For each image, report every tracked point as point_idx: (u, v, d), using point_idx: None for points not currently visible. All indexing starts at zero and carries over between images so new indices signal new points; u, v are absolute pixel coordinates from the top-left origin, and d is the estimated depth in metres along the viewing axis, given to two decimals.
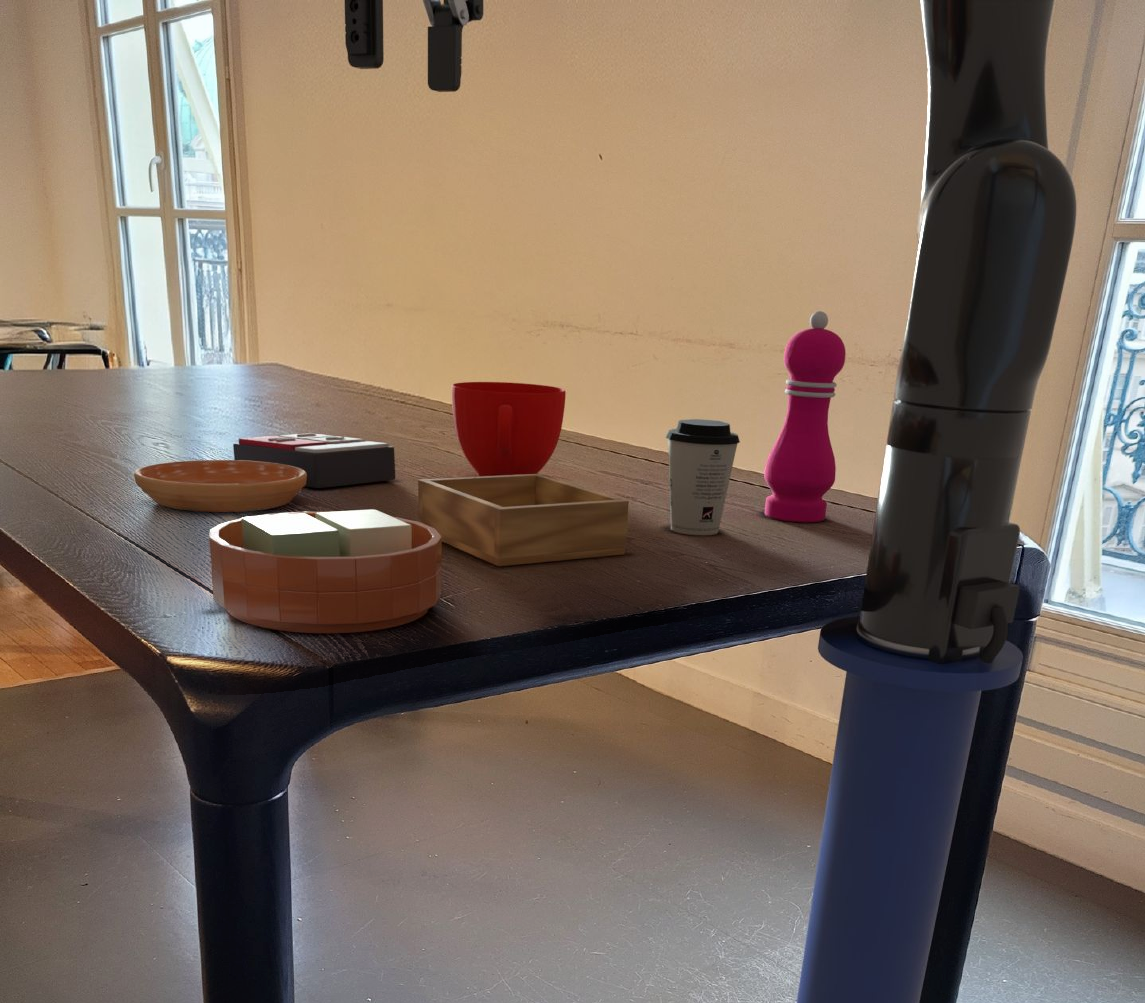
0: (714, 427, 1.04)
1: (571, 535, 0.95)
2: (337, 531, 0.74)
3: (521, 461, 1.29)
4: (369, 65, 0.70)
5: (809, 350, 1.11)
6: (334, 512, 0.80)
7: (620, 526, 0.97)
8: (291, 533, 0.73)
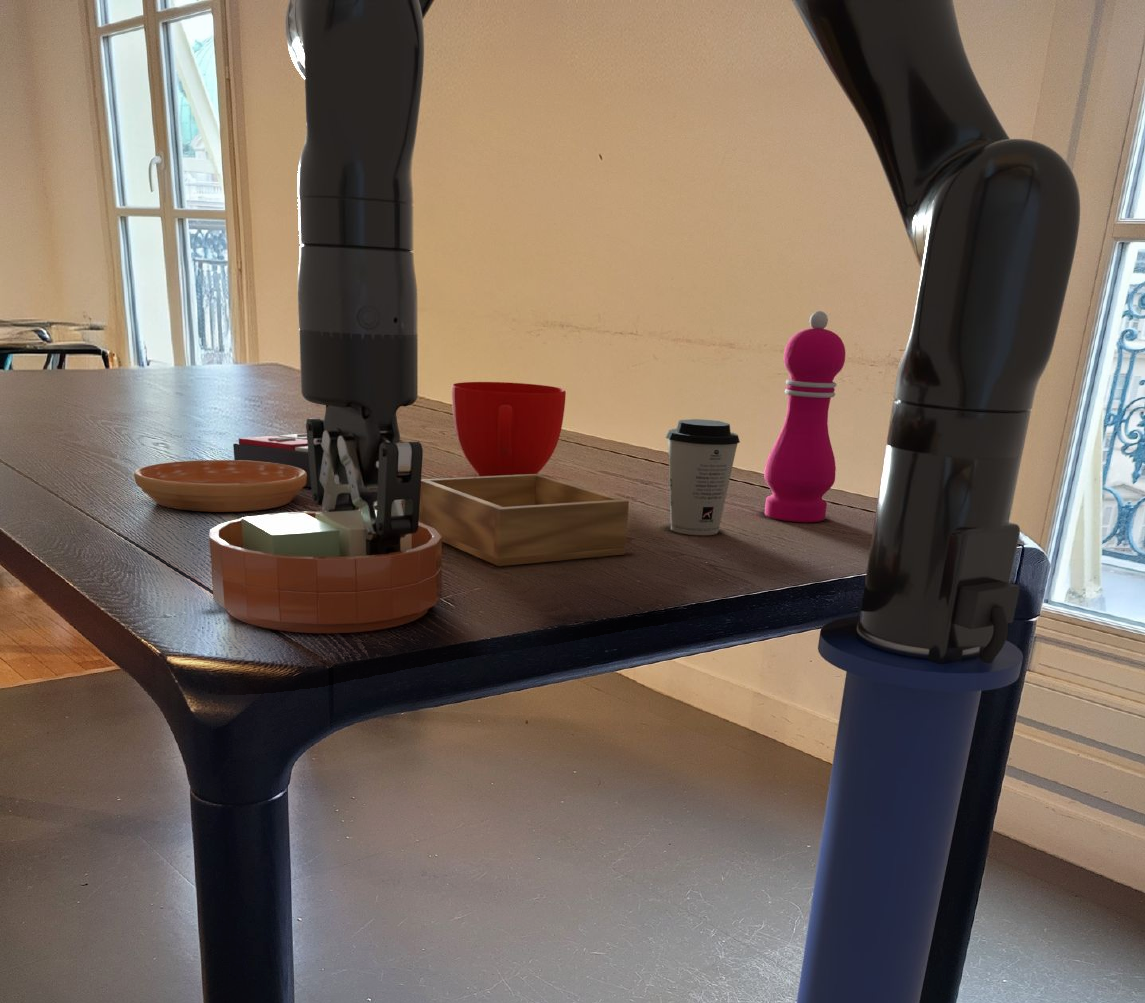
0: (714, 427, 1.04)
1: (571, 535, 0.95)
2: (337, 531, 0.74)
3: (521, 461, 1.29)
4: None
5: (808, 350, 1.11)
6: (334, 512, 0.80)
7: (620, 526, 0.97)
8: (291, 533, 0.73)
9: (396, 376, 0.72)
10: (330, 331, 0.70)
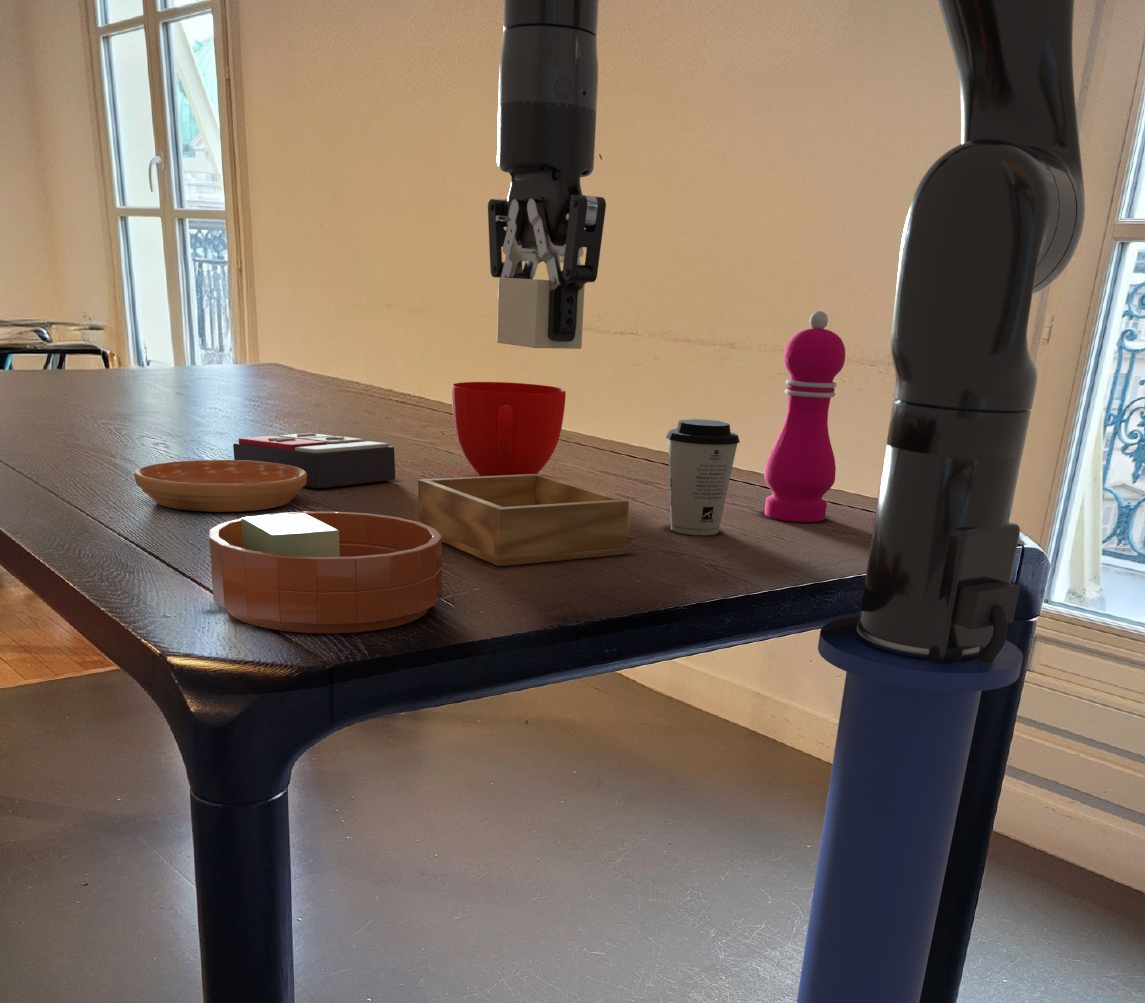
0: (714, 427, 1.04)
1: (571, 535, 0.95)
2: (337, 531, 0.74)
3: (521, 461, 1.29)
4: (569, 340, 0.91)
5: (808, 350, 1.11)
6: None
7: (620, 526, 0.97)
8: (291, 533, 0.73)
9: (582, 143, 0.86)
10: (531, 100, 0.84)
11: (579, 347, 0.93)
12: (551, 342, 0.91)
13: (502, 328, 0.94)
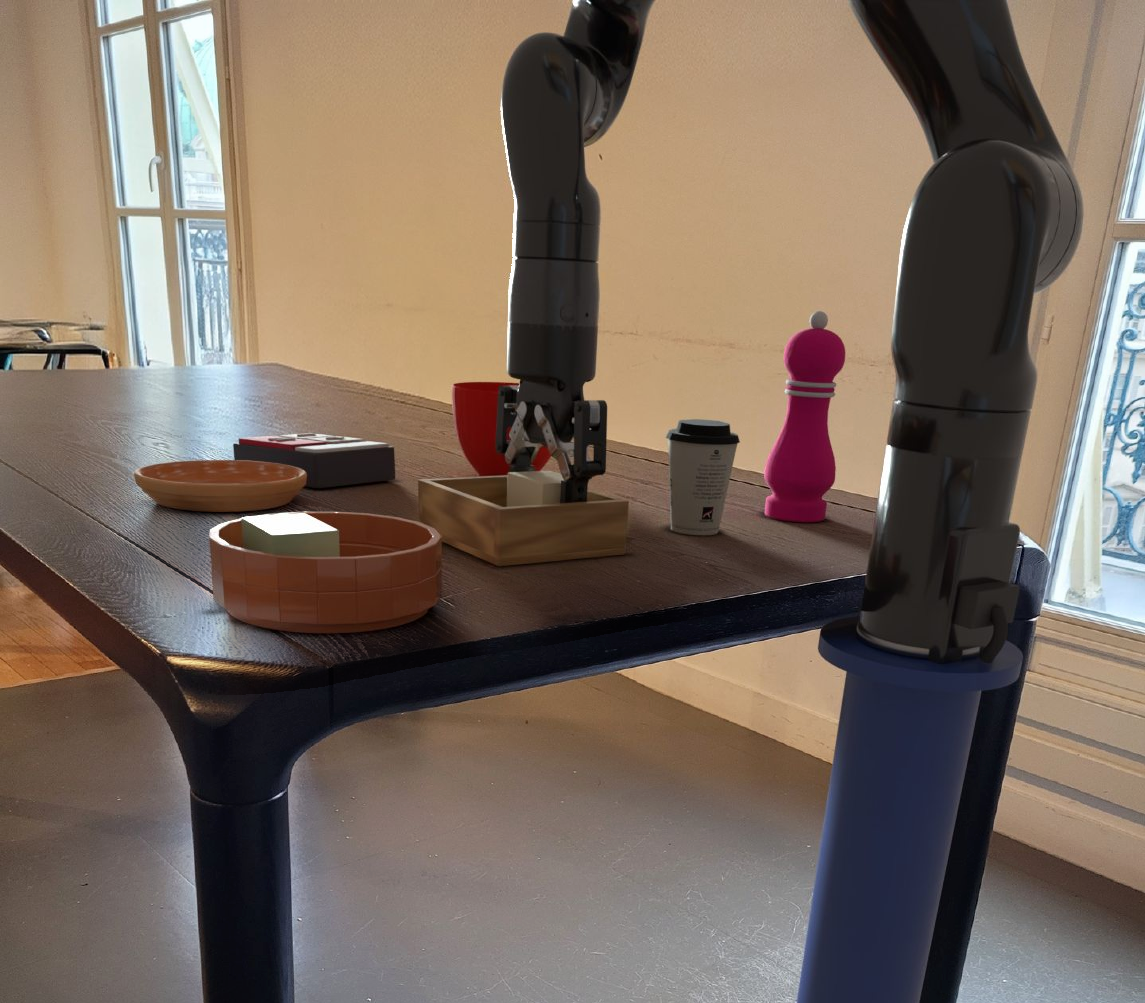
0: (714, 427, 1.04)
1: (571, 535, 0.95)
2: (337, 531, 0.74)
3: None
4: None
5: (808, 350, 1.11)
6: (521, 472, 1.02)
7: (620, 526, 0.97)
8: (291, 533, 0.73)
9: (585, 358, 0.94)
10: (538, 323, 0.92)
11: None
12: None
13: None
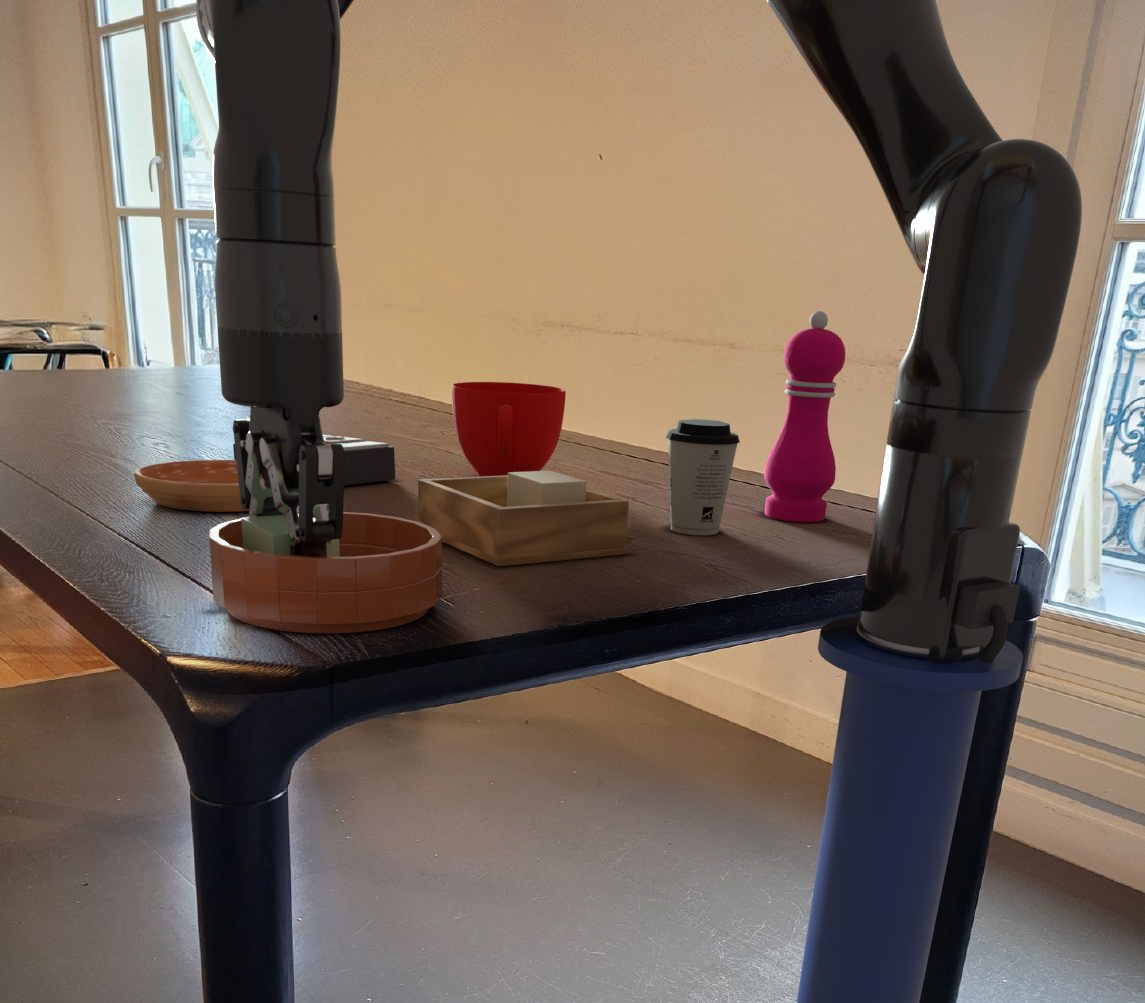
0: (714, 427, 1.04)
1: (571, 535, 0.95)
2: None
3: (521, 461, 1.29)
4: None
5: (808, 350, 1.11)
6: (521, 472, 1.02)
7: (620, 526, 0.97)
8: None
9: (318, 376, 0.70)
10: (247, 329, 0.68)
11: None
12: None
13: None
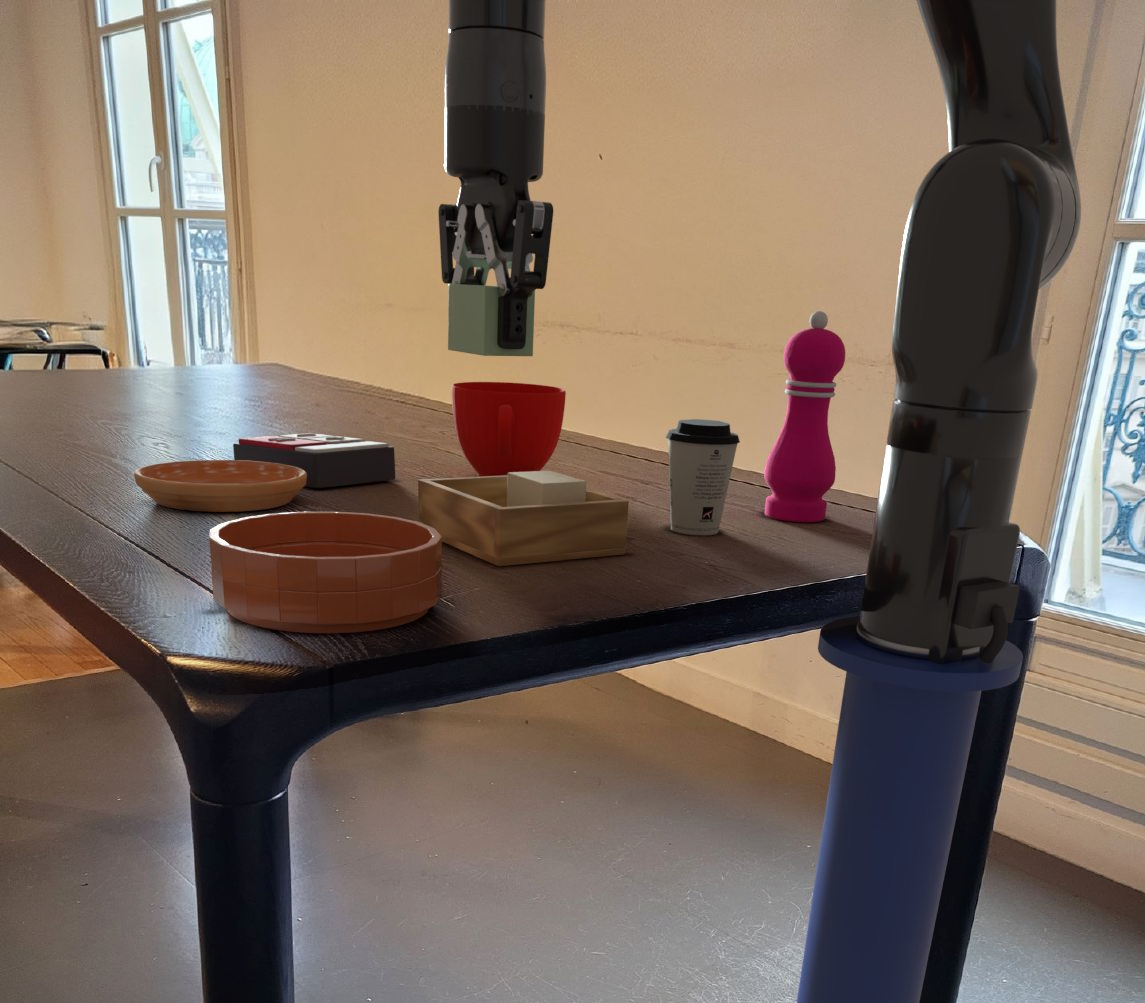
0: (714, 427, 1.04)
1: (571, 535, 0.95)
2: None
3: (521, 461, 1.29)
4: (519, 348, 0.90)
5: (808, 350, 1.11)
6: (521, 472, 1.02)
7: (620, 526, 0.97)
8: None
9: (529, 148, 0.85)
10: (476, 104, 0.83)
11: None
12: None
13: None
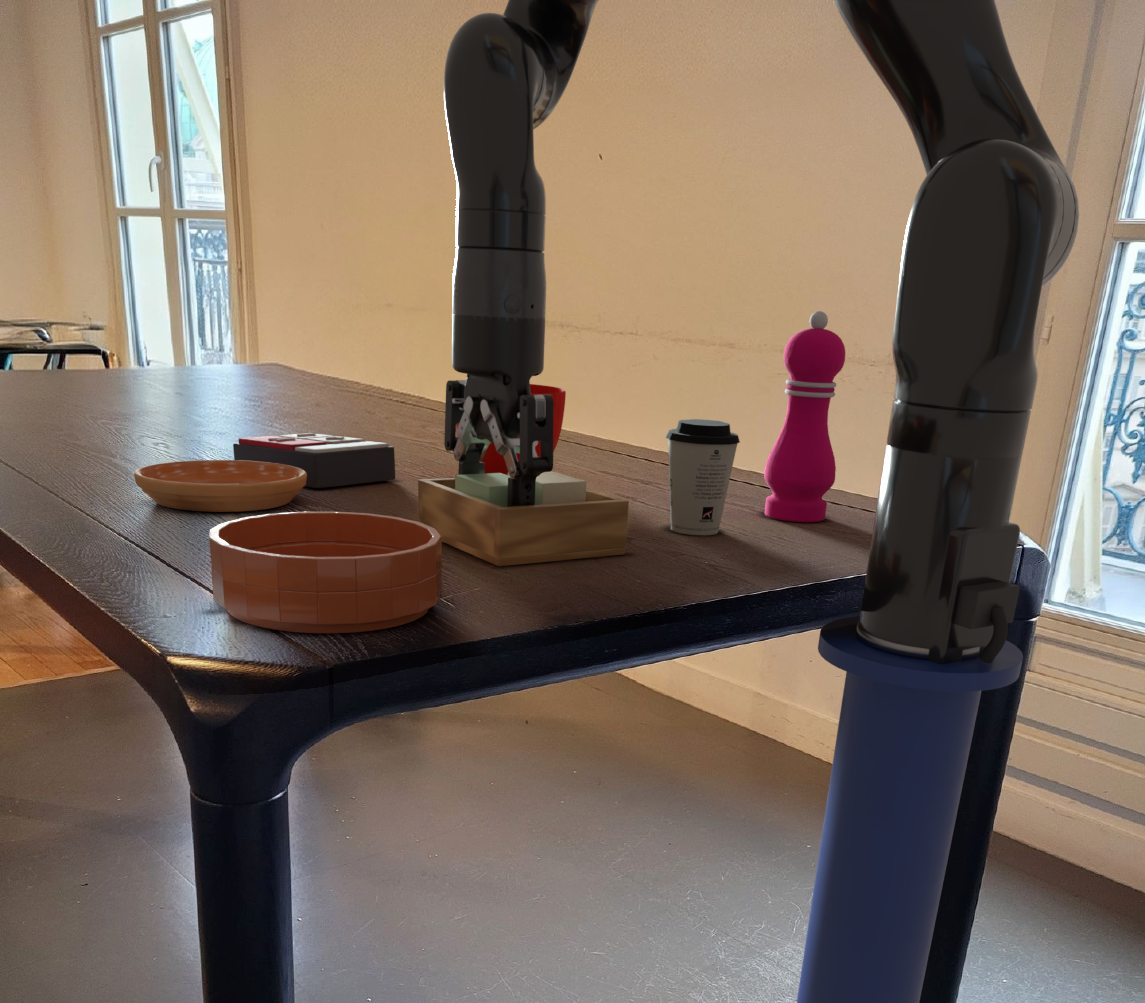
0: (714, 427, 1.04)
1: (571, 535, 0.95)
2: None
3: None
4: None
5: (808, 350, 1.11)
6: None
7: (620, 526, 0.97)
8: (502, 485, 0.95)
9: (531, 351, 0.91)
10: (481, 315, 0.89)
11: None
12: None
13: None
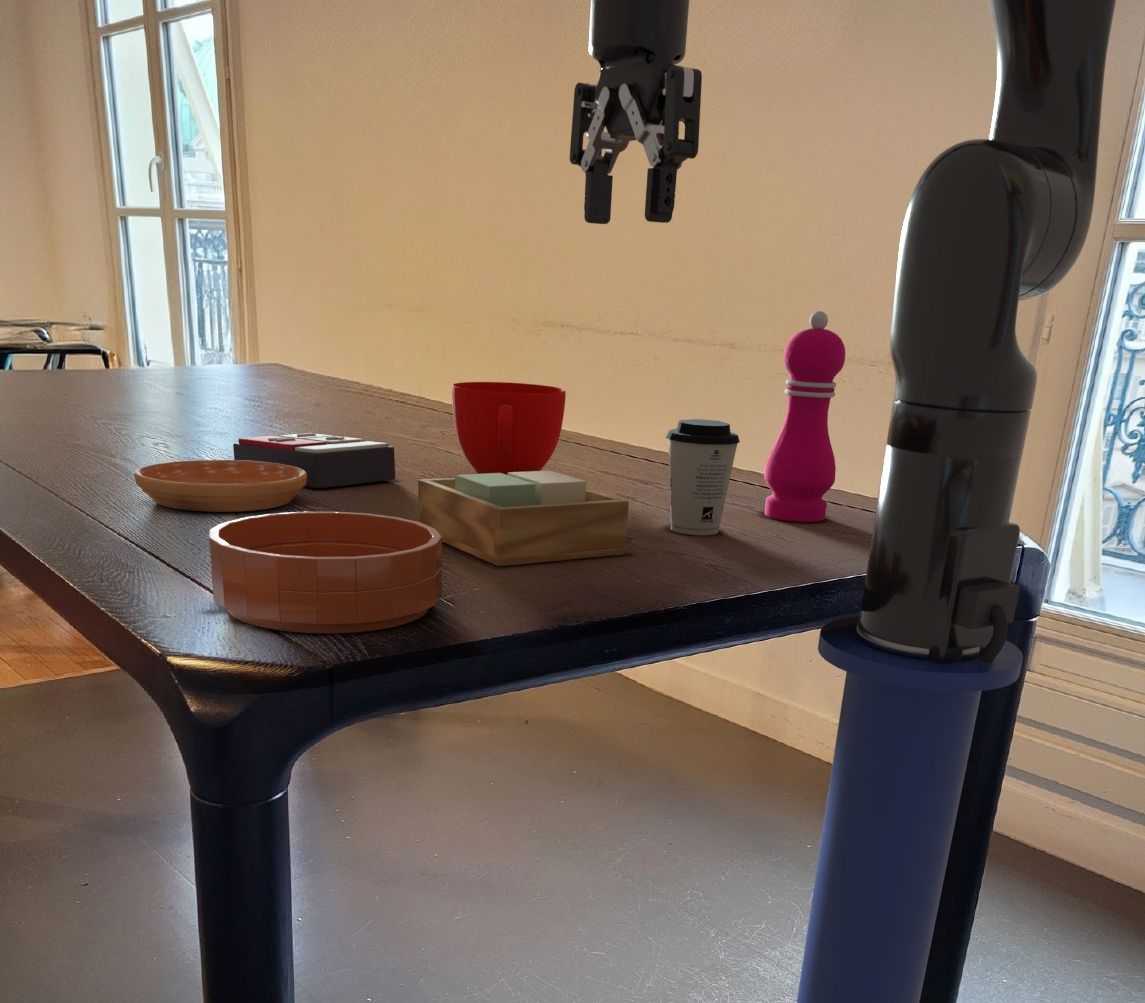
0: (714, 427, 1.04)
1: (571, 535, 0.95)
2: (534, 484, 0.96)
3: (521, 461, 1.29)
4: (666, 221, 0.90)
5: (808, 350, 1.11)
6: (521, 472, 1.02)
7: (620, 526, 0.97)
8: (502, 485, 0.95)
9: (676, 26, 0.86)
10: None
11: None
12: None
13: None
